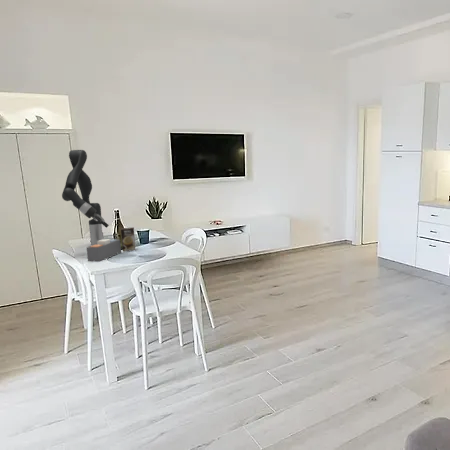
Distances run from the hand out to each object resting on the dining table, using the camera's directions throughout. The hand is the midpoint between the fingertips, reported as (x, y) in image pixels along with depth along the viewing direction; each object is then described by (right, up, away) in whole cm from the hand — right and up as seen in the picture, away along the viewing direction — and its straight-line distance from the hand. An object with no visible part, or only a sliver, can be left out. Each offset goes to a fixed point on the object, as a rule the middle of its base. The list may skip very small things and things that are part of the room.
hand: (107, 226), depth 271 cm
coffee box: (+12, -17, +11) cm, 24 cm away
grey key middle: (-1, -12, -6) cm, 13 cm away
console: (-1, -20, -4) cm, 21 cm away
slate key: (+2, -13, +2) cm, 13 cm away
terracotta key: (-3, -16, -13) cm, 20 cm away
